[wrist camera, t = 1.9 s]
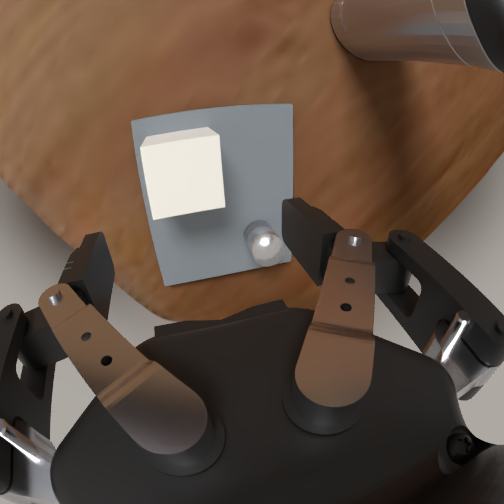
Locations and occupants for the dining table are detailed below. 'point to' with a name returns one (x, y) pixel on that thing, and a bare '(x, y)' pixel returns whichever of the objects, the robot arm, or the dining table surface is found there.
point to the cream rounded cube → (183, 172)
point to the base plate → (225, 189)
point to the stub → (264, 243)
